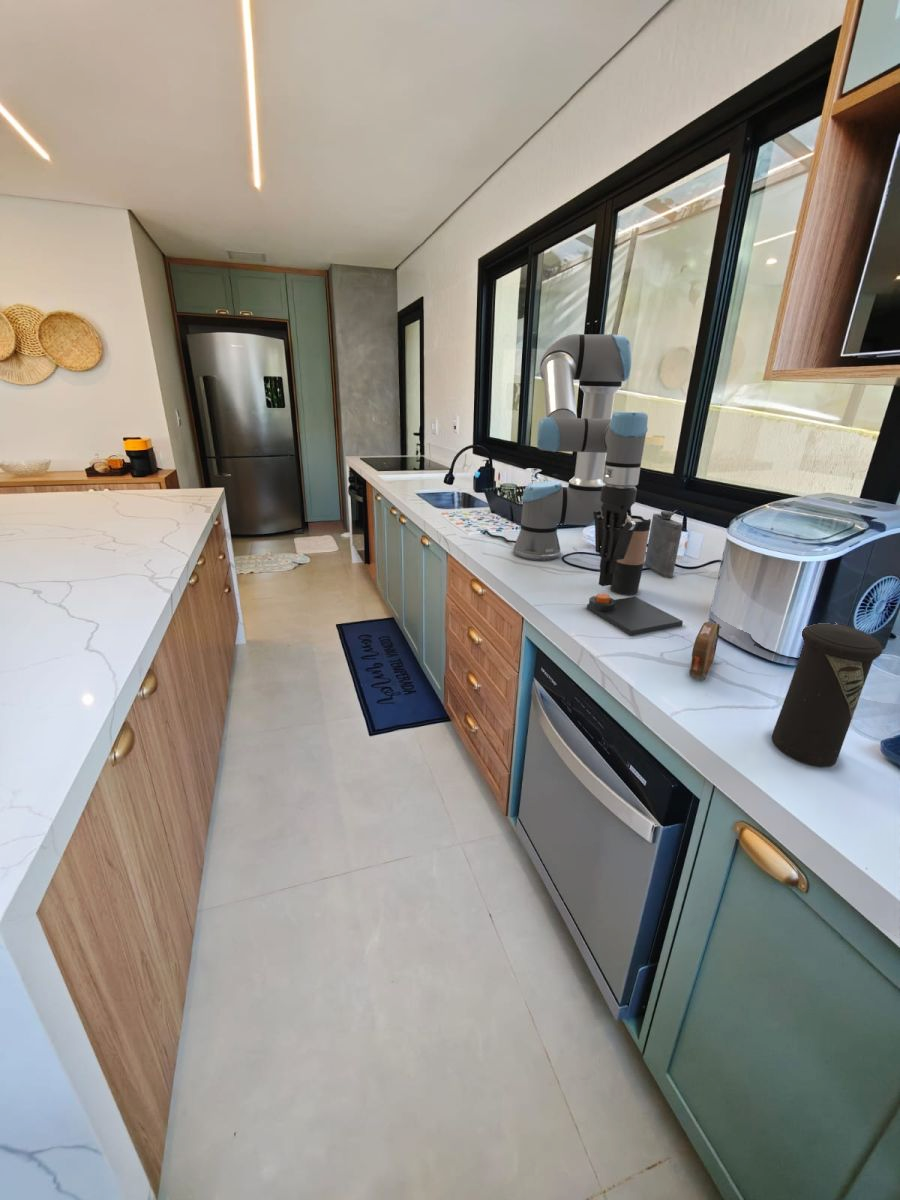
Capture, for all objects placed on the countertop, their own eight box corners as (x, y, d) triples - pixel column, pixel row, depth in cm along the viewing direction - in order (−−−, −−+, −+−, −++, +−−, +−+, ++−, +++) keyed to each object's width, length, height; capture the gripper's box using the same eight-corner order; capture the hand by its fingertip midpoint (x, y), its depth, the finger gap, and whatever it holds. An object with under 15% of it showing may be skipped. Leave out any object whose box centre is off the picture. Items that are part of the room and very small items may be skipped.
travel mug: (608, 593, 135) (619, 520, 127) (609, 584, 142) (620, 514, 134) (638, 597, 133) (651, 523, 125) (638, 587, 139) (651, 516, 132)
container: (824, 777, 71) (873, 653, 63) (758, 743, 78) (794, 627, 70) (847, 754, 76) (895, 635, 68) (782, 724, 83) (820, 613, 75)
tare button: (592, 600, 124) (593, 594, 123) (603, 598, 125) (604, 592, 124) (601, 605, 121) (602, 599, 120) (612, 603, 122) (612, 597, 121)
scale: (583, 608, 125) (584, 597, 124) (632, 600, 131) (634, 589, 130) (628, 636, 111) (630, 624, 110) (681, 626, 117) (684, 614, 116)
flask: (662, 577, 148) (674, 517, 141) (640, 562, 161) (650, 506, 154) (674, 577, 148) (686, 517, 141) (651, 562, 161) (661, 506, 154)
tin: (701, 687, 92) (711, 646, 89) (683, 681, 94) (692, 641, 91) (715, 655, 104) (724, 618, 101) (699, 651, 106) (707, 614, 102)
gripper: (587, 481, 116) (575, 577, 125) (626, 491, 105) (610, 596, 114) (614, 480, 119) (600, 574, 128) (654, 489, 108) (636, 592, 117)
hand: (605, 584), depth 121 cm, fingers closed
